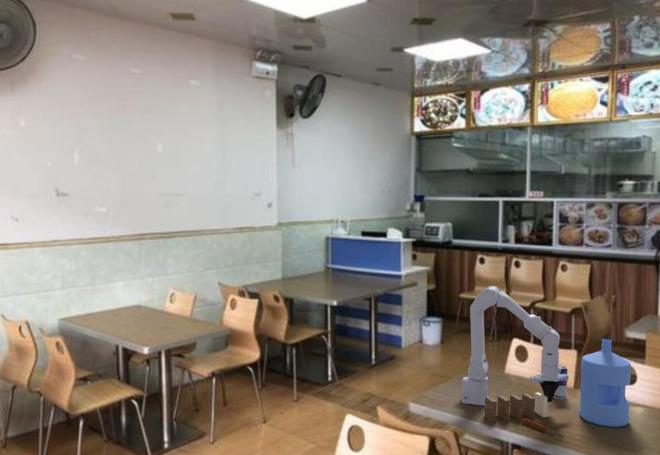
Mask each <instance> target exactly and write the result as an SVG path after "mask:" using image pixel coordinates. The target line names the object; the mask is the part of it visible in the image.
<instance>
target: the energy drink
mask: <svg viewBox="0 0 660 455" xmlns="http://www.w3.org/2000/svg"><path fill="white" fill-rule="evenodd" d="M558 374H566V375H568V367H567V366H565V365H561V364H558ZM557 382H558V383H559V387H558V388H557V390H556V392H555V394H554V397H553V399H556V400H566V399H567V395H568V392H567V391H568V381H565V380H564V381H557Z"/></svg>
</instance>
